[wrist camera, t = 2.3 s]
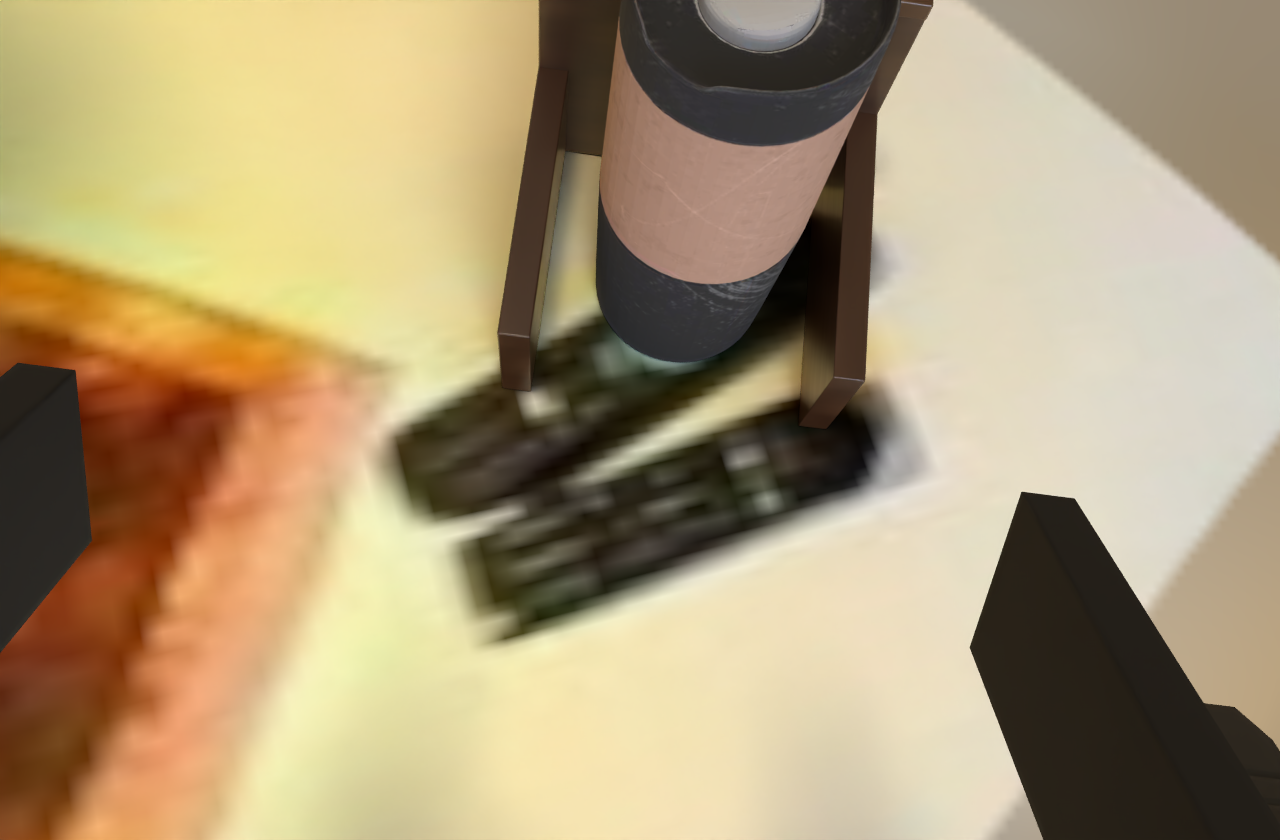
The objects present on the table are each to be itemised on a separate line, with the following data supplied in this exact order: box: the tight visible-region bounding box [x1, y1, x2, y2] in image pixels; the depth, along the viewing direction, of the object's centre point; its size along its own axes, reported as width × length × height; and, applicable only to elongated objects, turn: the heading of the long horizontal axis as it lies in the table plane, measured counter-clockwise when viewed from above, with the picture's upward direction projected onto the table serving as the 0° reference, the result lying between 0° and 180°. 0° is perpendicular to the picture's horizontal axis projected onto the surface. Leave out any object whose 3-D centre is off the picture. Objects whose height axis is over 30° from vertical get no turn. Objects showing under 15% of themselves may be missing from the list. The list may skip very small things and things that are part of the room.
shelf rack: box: [497, 0, 933, 429], centre depth 43 cm, size 14×13×13 cm
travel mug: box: [596, 0, 901, 362], centre depth 40 cm, size 8×8×20 cm
